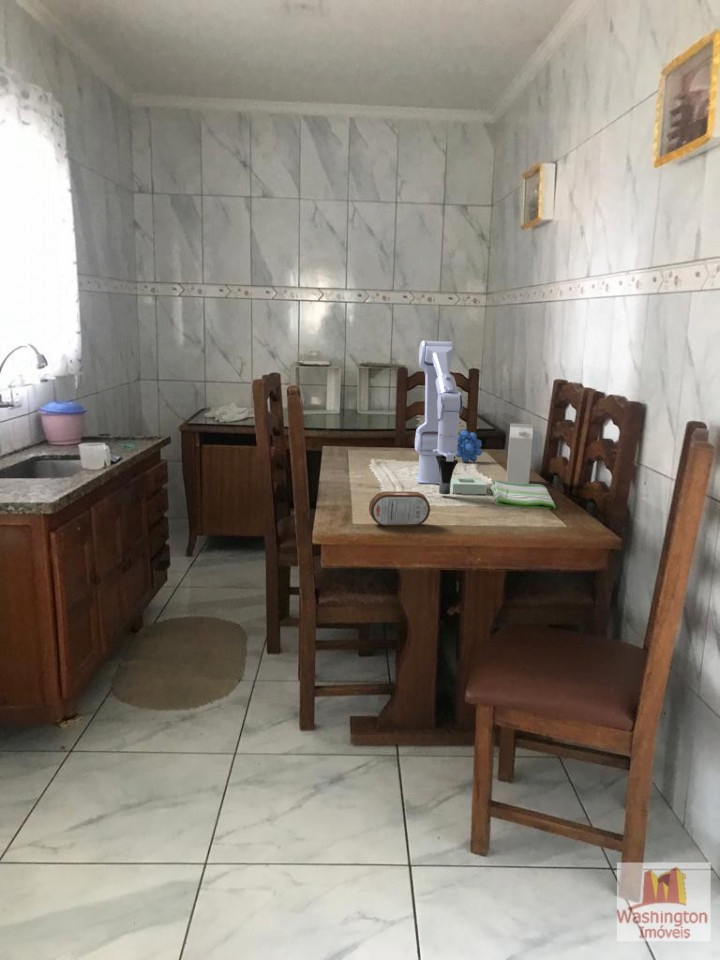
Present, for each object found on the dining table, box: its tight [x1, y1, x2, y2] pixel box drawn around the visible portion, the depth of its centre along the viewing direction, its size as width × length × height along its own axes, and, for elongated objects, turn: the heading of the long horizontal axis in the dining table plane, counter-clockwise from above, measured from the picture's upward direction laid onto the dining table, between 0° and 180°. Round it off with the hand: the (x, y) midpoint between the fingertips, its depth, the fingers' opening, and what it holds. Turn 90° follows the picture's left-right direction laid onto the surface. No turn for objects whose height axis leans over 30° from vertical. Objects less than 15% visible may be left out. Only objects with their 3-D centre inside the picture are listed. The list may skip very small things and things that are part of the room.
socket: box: [450, 476, 488, 496], centre depth 220 cm, size 10×10×3 cm
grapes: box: [455, 429, 483, 463], centre depth 267 cm, size 12×7×12 cm, turn 99°
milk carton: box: [505, 422, 534, 484], centre depth 234 cm, size 7×7×19 cm
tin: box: [368, 490, 431, 527], centre depth 178 cm, size 15×3×8 cm, turn 99°
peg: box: [438, 468, 451, 495], centre depth 211 cm, size 3×3×9 cm
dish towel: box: [490, 479, 557, 510], centre depth 213 cm, size 17×23×4 cm
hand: (445, 481), depth 211 cm, fingers closed on peg, 3 cm apart
